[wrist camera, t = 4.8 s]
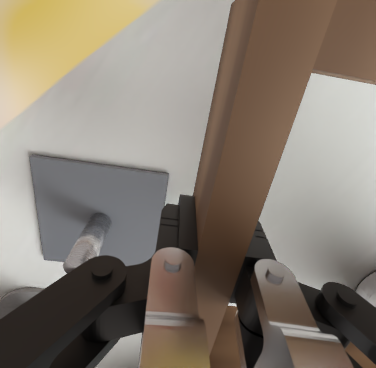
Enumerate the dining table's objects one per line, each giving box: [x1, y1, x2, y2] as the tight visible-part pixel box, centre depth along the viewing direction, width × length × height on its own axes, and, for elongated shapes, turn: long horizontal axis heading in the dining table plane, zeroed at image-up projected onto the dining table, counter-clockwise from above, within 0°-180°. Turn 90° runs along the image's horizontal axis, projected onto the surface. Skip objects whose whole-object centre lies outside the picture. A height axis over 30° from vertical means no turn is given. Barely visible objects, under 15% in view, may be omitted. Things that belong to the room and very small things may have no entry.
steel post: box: [63, 213, 112, 274], centre depth 25 cm, size 2×2×7 cm
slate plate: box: [29, 155, 169, 266], centre depth 29 cm, size 14×14×1 cm
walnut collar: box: [193, 0, 376, 368], centre depth 11 cm, size 16×16×4 cm
